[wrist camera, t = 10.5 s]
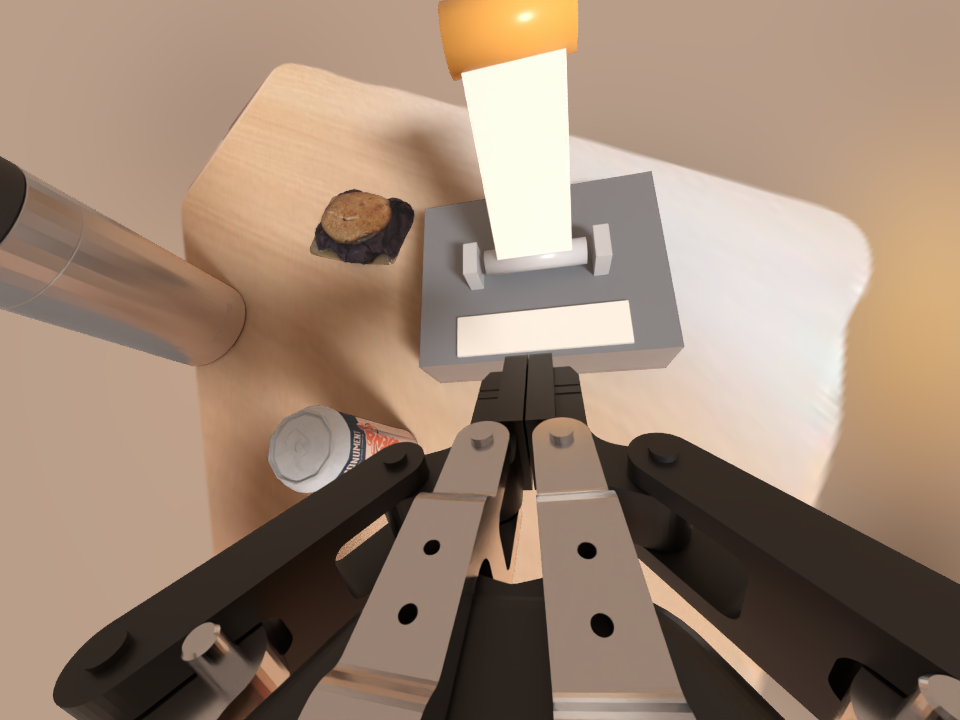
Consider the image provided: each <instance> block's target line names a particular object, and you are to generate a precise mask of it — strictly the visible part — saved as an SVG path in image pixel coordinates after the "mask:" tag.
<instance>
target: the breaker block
mask: <svg viewBox="0 0 960 720" xmlns="http://www.w3.org/2000/svg"><path fill="white" fill-rule="evenodd" d="M570 197H571V231H572V239H573V238H580V237H586V241H587V257H588V258H587V264H581V265H573V266H565V267H557V268H549V269H541V270H533V271H525V272H517V273H509V274H501V275H493V276H487V274H486V270H485V264H484V251H487V250H494V249H495V244H494V239H493V234H492V229H491V224H490V219H489V214H488V208H487V203H486V199H482V200H476V201H470V202H464V203H458V204H452V205H446V206H440V207H434V208H428V209H425V225H424V251H423V278H422V305H421V332H420V359H419V367H420V368H421V369H422V370H424V371H425V372H426V373H428V374H429V375H430V376H432V377H433V378H434V379H436V380H437V381H438V382H440V383H448V382H463V381H478V380H483V379H484V378H485V377H486V376H487V375H488V374H489V373H490V372H499V371H503V365H504V360H505V356H515V355H527V354H528V358H529V354H538V353H550V352H552V358H553V367H565V366H570V367H572V368H573V369H574V370H575V371H576V372H577V373H578V374H581V373H596V372H611V371H626V370H640V369H655V368H666V367H667V365H668V364H669V363H670V362H671V361H672V360H673V359H674V358H675V356H676V355H677V354H678V353H679V352H680V351H681V350H682V349H683V348H684V342H683V337H682V331H681V326H680V321H679V315H678V310H677V305H676V299H675V294H674V289H673V283H672V278H671V273H670V267H669V262H668V256H667V251H666V246H665V240H664V235H663V230H662V224H661V219H660V214H659V208H658V203H657V198H656V192H655V187H654V182H653V176H652V171H650V172H644V173H638V174H632V175H626V176H620V177H614V178H608V179H602V180H596V181H590V182H584V183H578V184H572V185H570Z"/></svg>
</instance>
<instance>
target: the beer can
mask: <svg viewBox="0 0 960 720" xmlns="http://www.w3.org/2000/svg"><path fill="white" fill-rule="evenodd" d="M399 442H413V443H416V444H418V443H417V441H416V439H415V438H414V437H413V435H412V434H410V433H409V432H408V431H406V430H404V429H400V428H393V427H390V426H386V425H383V424H379V423H376V422H372V421H369V420H366V419H362V418H359V417H355V416H352V415H348V414H345V413H341V412H338V411H336V410H334V409H332V408H330V407H326V406H320V405H317V406H310V407H307V408H305V409H302V410H300V411H298V412H296V413H294V414H292V415H290V416H288V417H286V418H284V419H283V421H282V422H281V423H280V425H279V426H278V428H277V429H276V431H275V432H274V433H273V435H272V436H271V439H270V447H269V456H268V461H269V463H270V465H271V467H272V469H273V471H274V473H275V475H276V477H277V479H280V480H281V481H282V482H283V484H284V485H286V486H287V487H289V488H291V489H292V490H294V491H297V492H301V493H314V492H316V491H317V490H319V489H321V488H322V487H324V486H325V485H327V484H328V483H330V482H332V481H333V480H335V479H336V478H338V477H339V476H341V475H342V474H344V473H346V472H347V471H349V470H350V469H352V468H353V467H355V466H356V465H358V464H360V463H361V462H363V461H364V460H366V459H367V458H369V457H371V456H372V455H374V454H375V453H377V452H378V451H380V450H381V449H383V448H385V447H387V446H389V445H392V444H395V443H399Z"/></svg>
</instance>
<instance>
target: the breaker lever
mask: <svg viewBox="0 0 960 720" xmlns="http://www.w3.org/2000/svg"><path fill="white" fill-rule="evenodd" d="M438 14H439V24H440V31H441V38H442V43H443V48H444V52H445V57H446V61H447V64H448V68H449V70H450V74H451V76H452V78H453V80H455V81H456V80H460V79H462V80H463V84H464V90H465V95H466V100H467V106H468V111H469V116H470V121H471V126H472V131H473V137H474V142H475V147H476V152H477V157H478V162H479V167H480V172H481V178H482V183H483V188H484V193H485V198H486V203H487V208H488V214H489V219H490V224H491V229H492V234H493V239H494V244H495V249H494V250H487V251H484V264H485V270H486V274H487V276H493V275H501V274H509V273H517V272H525V271H533V270H541V269H549V268H557V267H565V266H573V265H581V264H587V258H588V257H587V241H586V237H580V238H573V239H572V231H571V197H570V163H569V131H568V130H569V129H568V95H567V63H566V62H567V61H566V54H570V53H575V52H576V51H577V43H578V0H443V1H440V2H439V5H438Z"/></svg>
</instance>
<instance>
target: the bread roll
mask: <svg viewBox="0 0 960 720" xmlns="http://www.w3.org/2000/svg"><path fill="white" fill-rule="evenodd" d="M413 218H414V211H413V209H412V207H411V205H410V204H408V203H407V202H403V201H402V200H401V199H397V198H390V199H386V198H384V197H382V196H379V195H375V194H371V193H367V192H366V193H364V192H362V191H360V190H356V189H353V190H349V191H346V192H344V193H340V194H339V195H338V196H335V197H333V198H332V199H331V201H330V204H329V205H328V207H327V208H326V210H325V212H324V214H323V216H322V220H321V222H320V224H319V225H318V226H317V228H316V232H315V238H314V240H313V242H312V245H311V247H310V252H311V253H312V254H314V255H317V256H321V257H326V258H329V259H334V260H339V261H344V262H350V263H361V264H363V265H364V264H374V265H389V262H391V264H393V263H394V262H395V260H396V258H397V256H398V254H399V251H400V248H401V246H402V244H403V242H404V239H405V237H406V235H407V233H408V232H409V230H410V228H411V225H412V223H413ZM387 259H388V260H387ZM391 260H392V261H391Z"/></svg>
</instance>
